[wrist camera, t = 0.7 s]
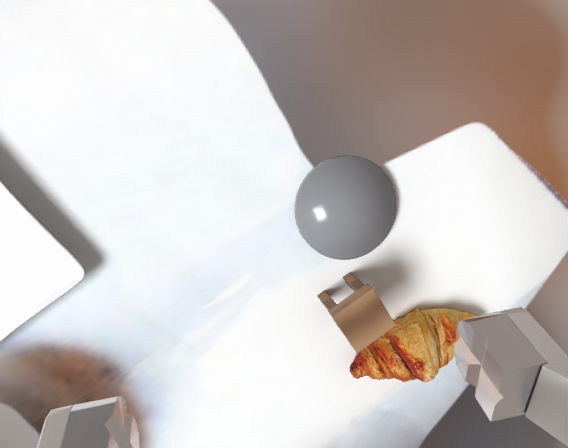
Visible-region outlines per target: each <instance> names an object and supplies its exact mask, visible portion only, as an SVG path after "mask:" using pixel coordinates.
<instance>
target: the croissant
mask: <svg viewBox="0 0 568 448" xmlns="http://www.w3.org/2000/svg"><path fill="white" fill-rule="evenodd" d="M476 316H477V315H474V314H472V313H467V312H461V311H458V310H454V309H447V308H434V309H425V310H419V309H418V308H415V309H414V310H413V311H412V312H410V313H409V314H407V315H406V316H405V317H403V318H399V319H396V320H395V321H394V323H395V324H396V326H394V327H393V328H391V329H390V330H389V331H387V332H386V333H385V334H383V335H382V336H380V337H379V338H378V339H376V340H375V341H373V342H372V343H371V344H369V345H368V346H367V347H365V348H364V349H362V350H361V351H360V352H359V353H358V354H357V356H356V357H355V359H354V361H353V362H352V364H351V366H350V372H351V374H352V375H353V377H355V378H357V379H358V378H360V377H363V376H366V375H367V376H369V377H371V378H372V379H378V380H380V379H385V378H387V379H392V378H396V379H398V380H402V381H403V382H406V381H409V380H414V379H419V380H421V381H424V382H428V381H430V380H433V379H434V378H435V376H436V375H437V373H438V370H439V368H441V367H443V366H445V365H447V364H448V362H449V361H451V360H452V358H453V356H454V349H455V343H456V342H457V341H458V340H459V338H460V337H461V336H460V334H459V333H458V331H457V329H458V324H459V322H460V321H461V320H464V319H468V318H472V317H476Z"/></svg>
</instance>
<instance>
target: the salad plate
mask: <svg viewBox="0 0 568 448" xmlns="http://www.w3.org/2000/svg"><path fill="white" fill-rule="evenodd" d="M84 276H85V271H84V268H83V267H82V265H81V264H80V263H79V262H78V260H77V259H76V258H75V257H74V256H73V255H72V254H71V253H70V252H69V251H68V250H67V249H66V248H65V247H64V246H63V245H62V244H61V243H60V242H59V241H58V240H57V239H56V238H55V237H54V236H53V235H52V234H51V233H50V232H49V231H48V230H47V229H46V228H45V227H44V226H43V225H42V224H41V223H40V222H39V221H38V220H37V219H36V218H35V217H34V216H33V215H32V214H31V213H30V212H29V211H28V210H27V209H26V208H25V207H24V206H23V205H22V204H21V203H20V202H19V201H18V200H17V198H16V197H15V196H14V195H13V194H12V193H11V192H10V191H9V190H8V189H7V188H6V187H5V185H4V184H3V183H2V182H1V181H0V341H2V340H3V339H4V338H5V337H7V336H8V335H9V334H10V333H12V332H13V331H14V330H15V329H17V328H18V327H19V326H21V325H22V324H23V323H25V322H26V321H27V320H29V319H30V318H32V317H33V316H34V315H36V314H37V313H38V312H40V311H41V310H42V309H44V308H45V307H47V306H48V305H49V304H51V303H52V302H53V301H55V300H56V299H58V298H59V297H61V296H62V295H63V294H65V293H66V292H68V291H69V290H70V289H72V288H73V287H74V286H75V285H77V284H78V283H79V282H80V281H81V280H82V279H83V278H84Z"/></svg>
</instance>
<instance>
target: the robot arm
mask: <svg viewBox="0 0 568 448" xmlns="http://www.w3.org/2000/svg"><path fill="white" fill-rule="evenodd" d="M457 331H458V333H459V334H460V336H461V337H460V338H459V340H458V341H457V342H456V343H455V349H454V355H455V360H456V364H457V366H458V369H459V371H460V373H461V375H462V376H463V378H464V380H465V381H466V382H468V383H470V384H472V385H473V386H475V387H476V395H475V397H476V399H477V400H478V402H479V404H480V405H481V407H482V409H483V410H484V412H485V413H486V415H487V416H488V418H489V420H490V421H495V420H500V419H505V418H510V417H514V416H519V415H524V414H526V415H525V417H527V418H528V419H530V420H531V421H532V422H534V423H535V424H537V425H538V426H539V427H541V428H542V429H544V430H545V431H546V432H548V433H549V434H551V435H552V436H554V437H555V438H556V439H558V440H559V441H560V442H562V443H563V444H565V445H566V446H568V355H567V354H565V352H564V351H563V350H562V349H561V348H560V347H559V346H558V344H556V342H555V341H554V340H553V339H552V338H551V337H550V336H549V335H548V334H547V332H546V331H545V330H544V329H543V328H542V327H541V326H540V325H539V324H538V323H537V321H536V320H535V319H534V318H533V317H532V316H531V315H530V314H529V313H528V312H527V311H526V310H525V309H523V308H522V307H518V308H513V309H509V310H504V311H500V312H493V313H489V314H485V315H481V316H476V317H472V318H468V319H464V320H461V321H460V322H459V324H458V329H457ZM126 406H127V404H126V402H125V400H124V399H123V397H122V396H118V397H113V398H108V399H103V400H97V401H92V402H87V403H82V404H77V405H72V406H67V407H62V408H58V409H53V410H51V411H50V413H49V414H48V415H47V417H46V419H45V422H44V426H43V429H42V432H41V436H40V439H39V442H38V446H37V448H139V434H138V428H137V424H136V421H135V419H134V417H133V416H132V415H130V414H128V413H126Z"/></svg>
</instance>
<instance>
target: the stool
mask: <svg viewBox="0 0 568 448" xmlns="http://www.w3.org/2000/svg"><path fill="white" fill-rule="evenodd" d="M343 278H344V280H345V281H346V283H347V284H348V285H349V286H350V287H351V288H352V289H353V290H354V291H355V292H354V293H353V294H351V295H350V296H349V297H347V298H346V299H344V300H343V301H341V302H340V303H339V304H336V303H335V302H334V301H333V300H332V299H331V298H330V296H329V295H328V294H327V293H326V292H325V291H323V292H322V293H320V294H319V295H318V298H319V299H320V301H321V302H322V303H323V304H324V306H325V307H326V308H327V309H328V312H329V313H330V315H331V316H332V318H333V320H334V321H335V323H336V324H337V326H338V327H339V328H340V329H341V331H342V332H343V334H344V335H345V337H346V338H347V340H348V341H349V343H350V344H351V346H352V347H353V348H354V350H355V351H356V352H357V353H358V352H360V351H361V350H362V349H364V348H365V347H367V346H368V345H369V344H371V343H372V342H373V341H375V340H376V339H378V338H379V337H380V336H382V335H383V334H385V333H386V332H387V331H389V330H390V329H391V328H393V327H394V326H396V324H395V323H394V321H393V320H392V318H391V316H390V315H389V313H388V312H387V310H386V308H385V307H384V305H383V304H382V302H381V301H380V299H379V297H378V296H377V294H376V293H375V291H374V289H373V288H372V287H370V286H369V285H368V284H364V283H362V282H361V281H360V280H359V279H357V278H356V277H355V276H354V275H352V274H351V273H349V274H347V275H346V276H344V277H343Z"/></svg>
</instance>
